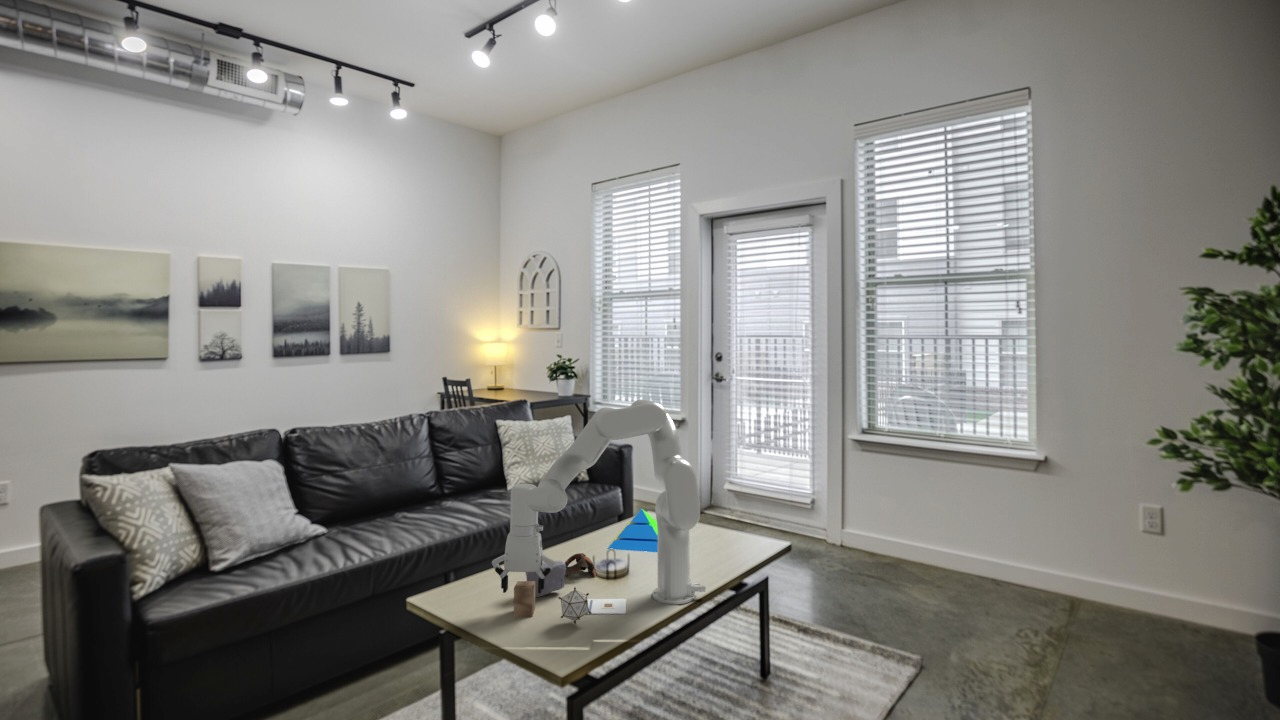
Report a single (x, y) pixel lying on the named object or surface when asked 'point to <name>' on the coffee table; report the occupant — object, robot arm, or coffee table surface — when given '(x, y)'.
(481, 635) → the coffee table surface
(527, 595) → the walnut block
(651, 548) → the pyramid toy
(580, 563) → the brown arched sculpture
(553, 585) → the stone block
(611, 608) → the white picture card
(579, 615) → the game die
